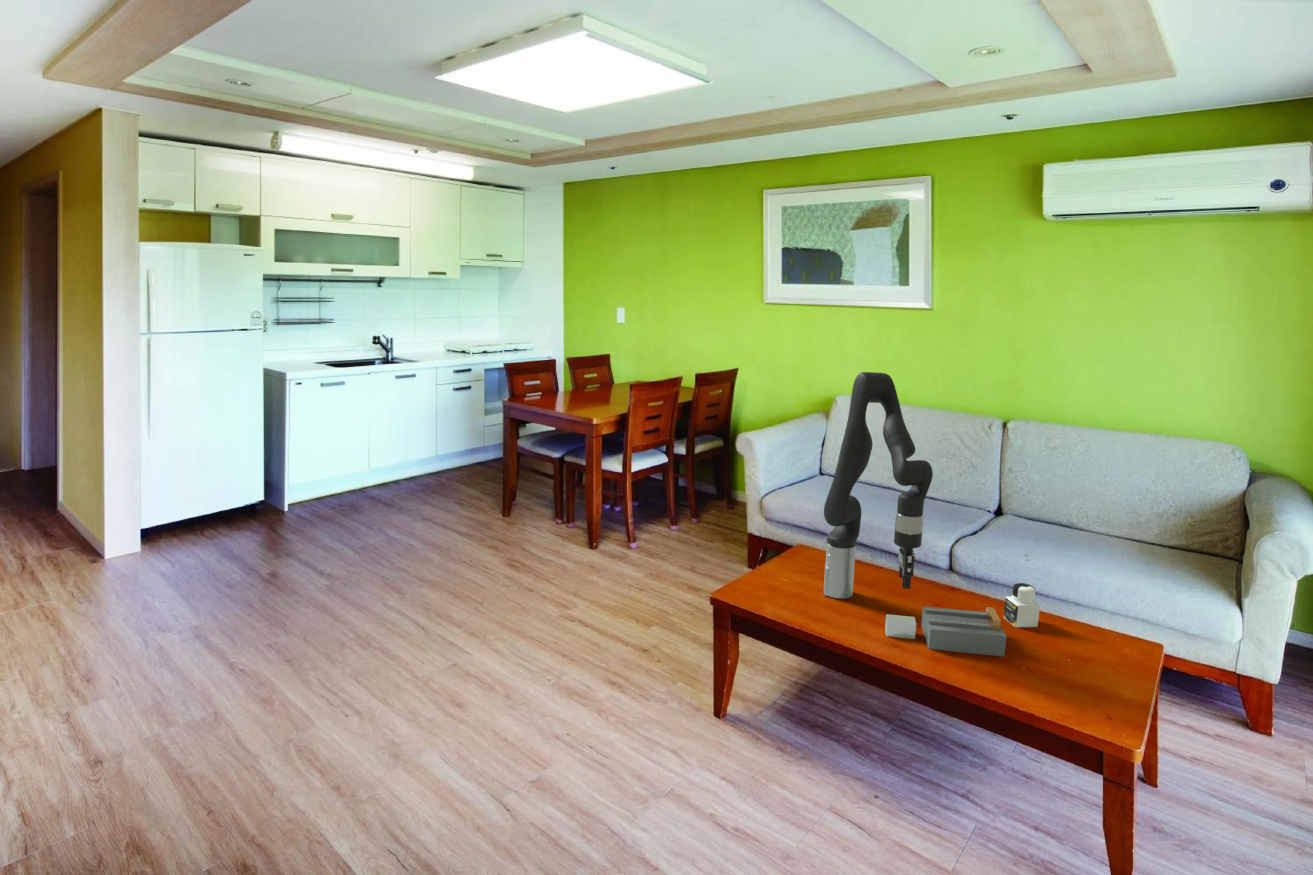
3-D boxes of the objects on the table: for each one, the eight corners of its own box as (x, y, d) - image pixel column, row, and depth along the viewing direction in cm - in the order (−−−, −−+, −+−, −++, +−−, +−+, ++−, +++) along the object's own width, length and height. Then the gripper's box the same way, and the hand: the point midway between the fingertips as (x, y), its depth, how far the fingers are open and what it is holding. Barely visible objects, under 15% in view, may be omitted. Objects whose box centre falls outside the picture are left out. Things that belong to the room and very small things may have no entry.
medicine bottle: (1002, 617, 239) (1006, 581, 236) (1024, 617, 239) (1029, 580, 237) (1015, 627, 232) (1019, 590, 229) (1038, 627, 232) (1042, 589, 230)
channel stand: (928, 648, 217) (931, 618, 215) (921, 624, 233) (923, 596, 231) (1004, 656, 213) (1007, 626, 212) (991, 631, 229) (994, 603, 227)
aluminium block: (886, 636, 225) (887, 620, 224) (885, 629, 229) (886, 614, 228) (914, 639, 223) (916, 623, 222) (913, 632, 228) (914, 616, 227)
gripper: (892, 520, 228) (888, 572, 231) (897, 535, 214) (893, 590, 217) (919, 522, 226) (914, 574, 229) (925, 537, 212) (921, 593, 216)
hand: (904, 582), depth 223 cm, fingers open, 8 cm apart
